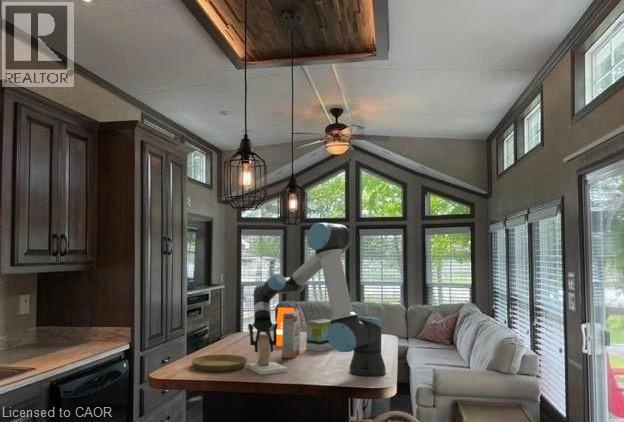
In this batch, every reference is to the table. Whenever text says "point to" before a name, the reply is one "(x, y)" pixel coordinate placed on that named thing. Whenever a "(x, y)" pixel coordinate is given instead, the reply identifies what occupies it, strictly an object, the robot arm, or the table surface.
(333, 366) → the table surface
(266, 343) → the block
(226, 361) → the plant saucer
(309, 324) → the tea box
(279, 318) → the orange juice
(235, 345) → the table surface
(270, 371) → the board
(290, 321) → the cracker box
